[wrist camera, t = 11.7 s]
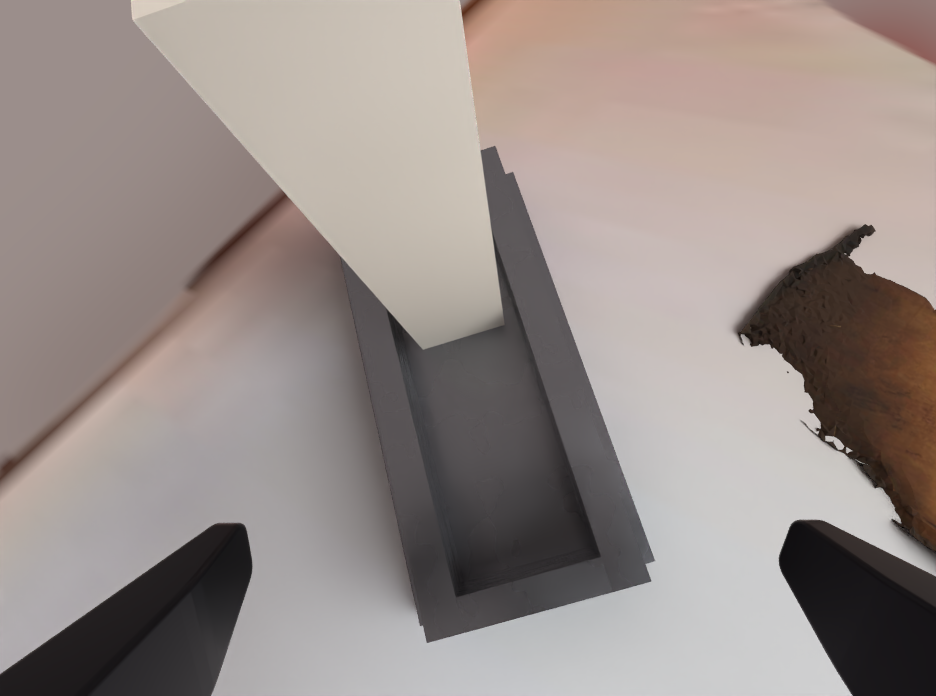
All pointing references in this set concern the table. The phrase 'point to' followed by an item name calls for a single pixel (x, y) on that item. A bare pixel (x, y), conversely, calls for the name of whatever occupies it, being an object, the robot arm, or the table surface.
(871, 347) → the parchment
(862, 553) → the robot arm
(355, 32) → the cream rectangular block
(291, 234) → the table surface
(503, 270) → the grey rectangular tray
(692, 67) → the table surface
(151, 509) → the table surface
